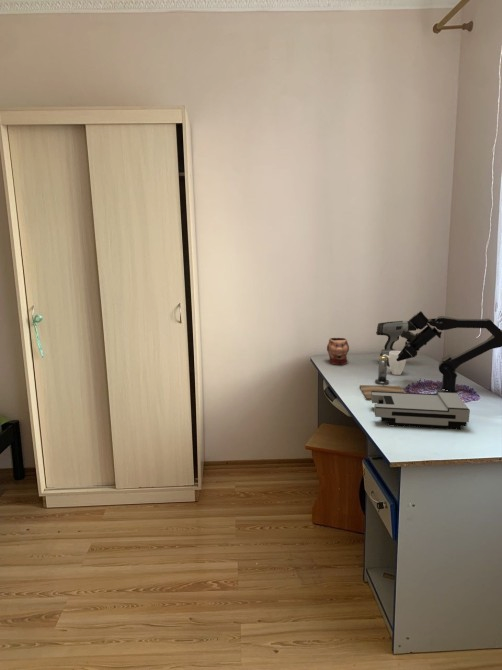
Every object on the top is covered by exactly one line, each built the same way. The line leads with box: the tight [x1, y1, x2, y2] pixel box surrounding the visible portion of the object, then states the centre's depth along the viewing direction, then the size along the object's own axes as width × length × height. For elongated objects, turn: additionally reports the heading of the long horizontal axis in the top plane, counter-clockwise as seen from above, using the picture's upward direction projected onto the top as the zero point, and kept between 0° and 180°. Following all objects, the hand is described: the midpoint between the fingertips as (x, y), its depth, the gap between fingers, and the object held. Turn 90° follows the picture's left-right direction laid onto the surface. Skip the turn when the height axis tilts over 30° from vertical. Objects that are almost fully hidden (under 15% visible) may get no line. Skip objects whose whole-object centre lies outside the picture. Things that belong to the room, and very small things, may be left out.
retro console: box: [370, 390, 471, 431], centre depth 176 cm, size 21×32×8 cm, turn 80°
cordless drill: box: [375, 320, 417, 367], centre depth 254 cm, size 8×24×25 cm, turn 78°
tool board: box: [359, 384, 406, 401], centre depth 205 cm, size 18×18×1 cm
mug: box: [383, 350, 407, 376], centre depth 237 cm, size 12×8×11 cm
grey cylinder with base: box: [374, 355, 390, 386], centre depth 221 cm, size 6×6×13 cm
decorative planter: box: [326, 337, 350, 365], centre depth 261 cm, size 20×12×14 cm, turn 2°
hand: (397, 358), depth 217 cm, fingers open, 9 cm apart
